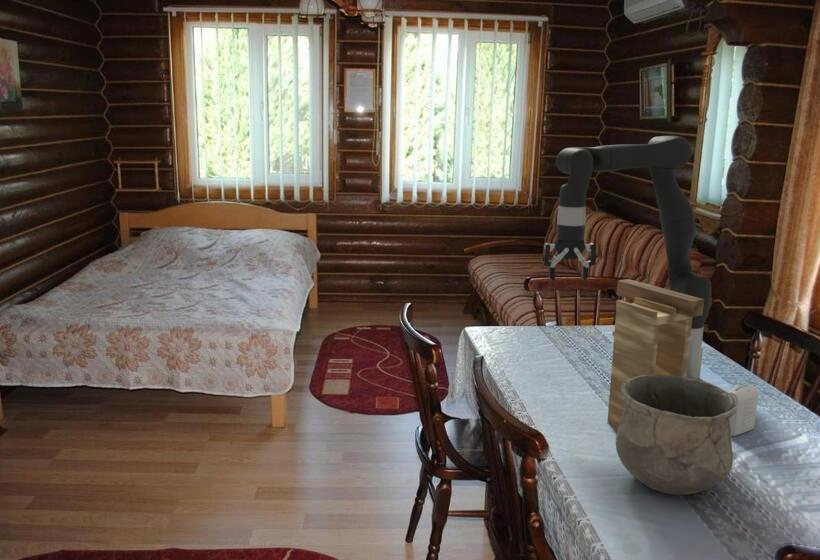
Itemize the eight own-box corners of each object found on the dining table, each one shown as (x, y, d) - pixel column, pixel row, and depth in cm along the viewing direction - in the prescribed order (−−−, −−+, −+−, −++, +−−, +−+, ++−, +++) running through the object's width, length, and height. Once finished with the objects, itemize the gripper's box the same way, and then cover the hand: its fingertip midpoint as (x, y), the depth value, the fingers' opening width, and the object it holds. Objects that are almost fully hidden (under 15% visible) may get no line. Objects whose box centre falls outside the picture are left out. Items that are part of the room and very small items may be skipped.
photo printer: (741, 422, 183) (746, 379, 180) (756, 428, 179) (762, 384, 176) (718, 432, 177) (723, 387, 174) (733, 438, 174) (739, 393, 171)
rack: (644, 411, 189) (655, 293, 181) (681, 428, 179) (694, 304, 171) (606, 422, 182) (616, 300, 174) (642, 440, 172) (654, 312, 164)
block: (627, 293, 187) (628, 279, 187) (702, 315, 167) (704, 299, 166) (616, 295, 186) (617, 280, 185) (691, 317, 165) (693, 301, 164)
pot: (753, 504, 144) (766, 410, 139) (657, 522, 138) (667, 423, 133) (676, 450, 167) (685, 367, 162) (591, 463, 161) (597, 377, 156)
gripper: (593, 220, 191) (589, 277, 195) (542, 220, 191) (539, 277, 195) (601, 224, 184) (597, 283, 188) (547, 224, 184) (544, 283, 188)
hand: (567, 280), depth 192 cm, fingers open, 8 cm apart
